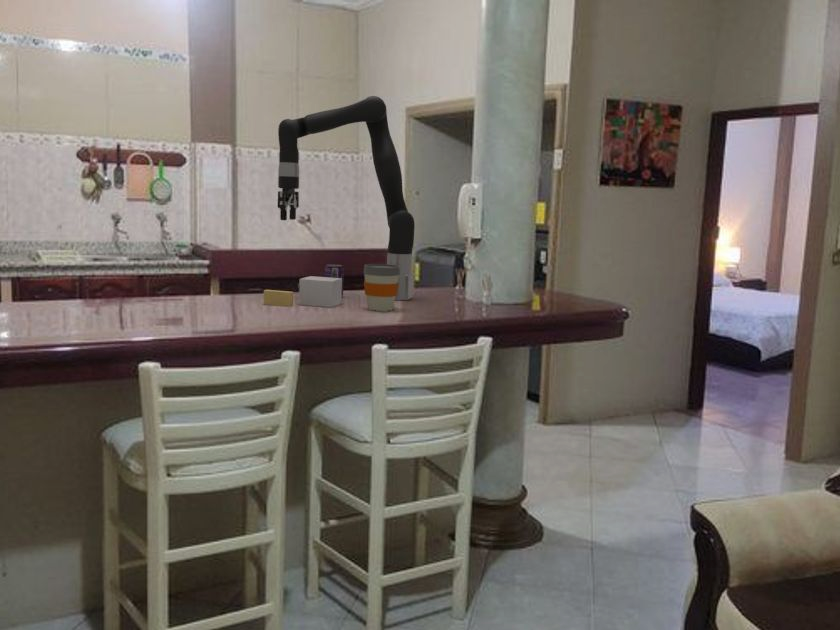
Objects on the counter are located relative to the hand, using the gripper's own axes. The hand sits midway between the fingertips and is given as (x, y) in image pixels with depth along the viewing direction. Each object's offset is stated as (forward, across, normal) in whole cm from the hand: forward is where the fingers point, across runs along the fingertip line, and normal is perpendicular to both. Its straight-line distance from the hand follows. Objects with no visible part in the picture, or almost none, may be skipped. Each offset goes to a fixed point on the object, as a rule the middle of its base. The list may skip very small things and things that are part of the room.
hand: (288, 219), depth 292 cm
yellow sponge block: (+28, -24, -7) cm, 38 cm away
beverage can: (+28, +4, -17) cm, 33 cm away
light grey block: (+28, -15, -19) cm, 37 cm away
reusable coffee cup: (+28, -15, -41) cm, 52 cm away
